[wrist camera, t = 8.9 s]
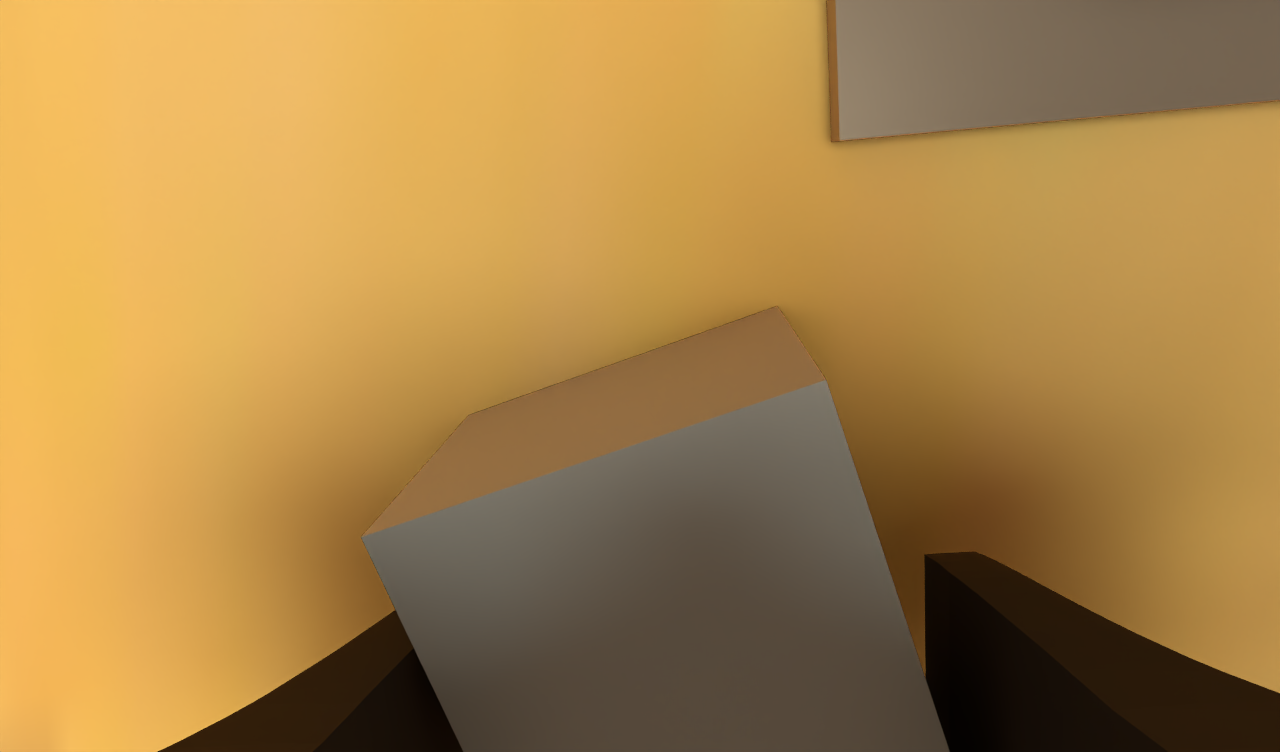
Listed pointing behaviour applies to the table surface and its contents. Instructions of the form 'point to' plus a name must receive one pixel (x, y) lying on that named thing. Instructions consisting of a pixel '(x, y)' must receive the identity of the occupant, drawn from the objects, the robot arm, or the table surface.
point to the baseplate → (1041, 61)
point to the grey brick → (658, 565)
